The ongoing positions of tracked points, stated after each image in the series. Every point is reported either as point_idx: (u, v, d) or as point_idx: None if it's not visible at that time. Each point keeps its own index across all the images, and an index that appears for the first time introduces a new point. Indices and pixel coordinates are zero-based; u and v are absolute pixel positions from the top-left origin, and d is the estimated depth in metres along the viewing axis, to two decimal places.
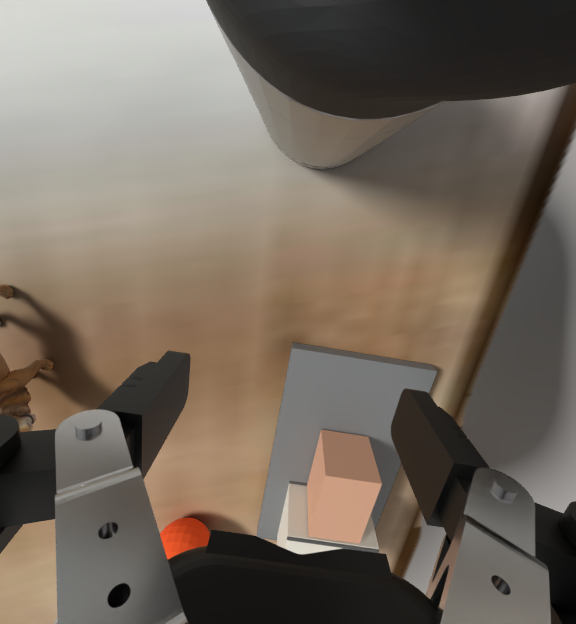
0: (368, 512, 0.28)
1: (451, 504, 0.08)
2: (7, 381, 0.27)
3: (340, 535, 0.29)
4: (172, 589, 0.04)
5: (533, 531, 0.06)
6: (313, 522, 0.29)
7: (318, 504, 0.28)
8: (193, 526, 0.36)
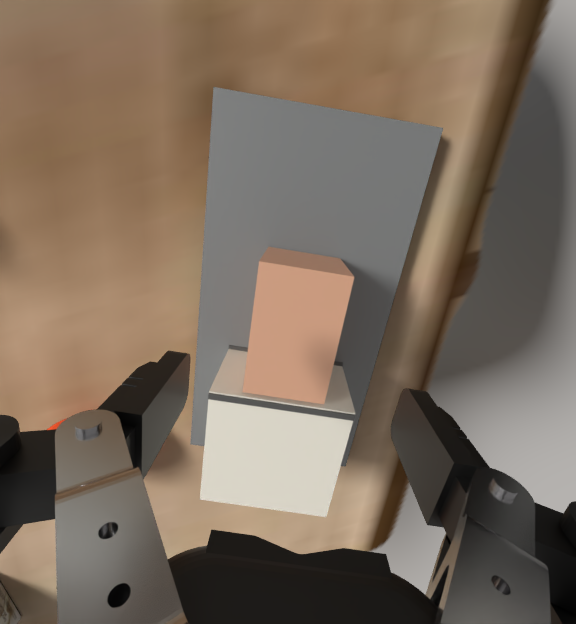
0: (335, 339, 0.17)
1: (451, 504, 0.08)
2: None
3: (292, 388, 0.18)
4: (172, 589, 0.04)
5: (533, 531, 0.06)
6: (248, 363, 0.18)
7: (252, 325, 0.17)
8: None
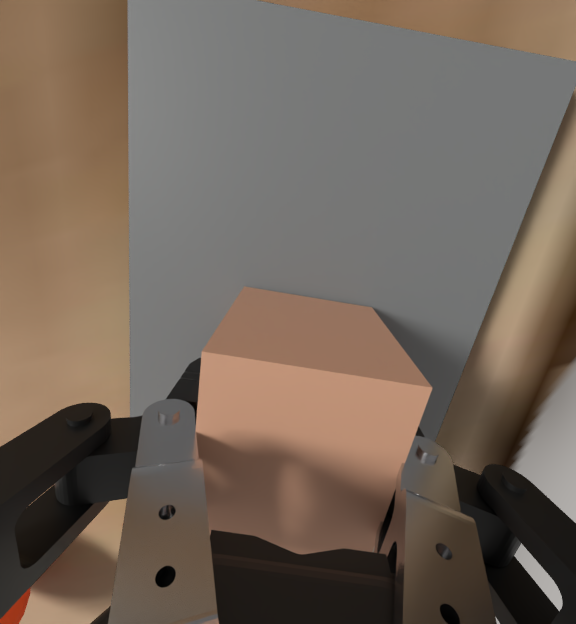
0: (377, 509, 0.08)
1: None
2: None
3: None
4: (211, 587, 0.04)
5: (443, 486, 0.07)
6: None
7: None
8: None
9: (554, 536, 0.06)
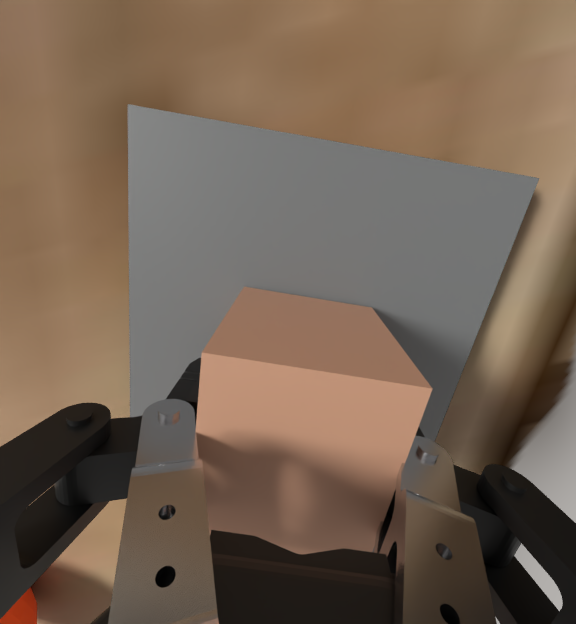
0: (377, 509, 0.08)
1: None
2: None
3: None
4: (211, 587, 0.04)
5: (443, 486, 0.07)
6: None
7: None
8: None
9: (554, 536, 0.06)
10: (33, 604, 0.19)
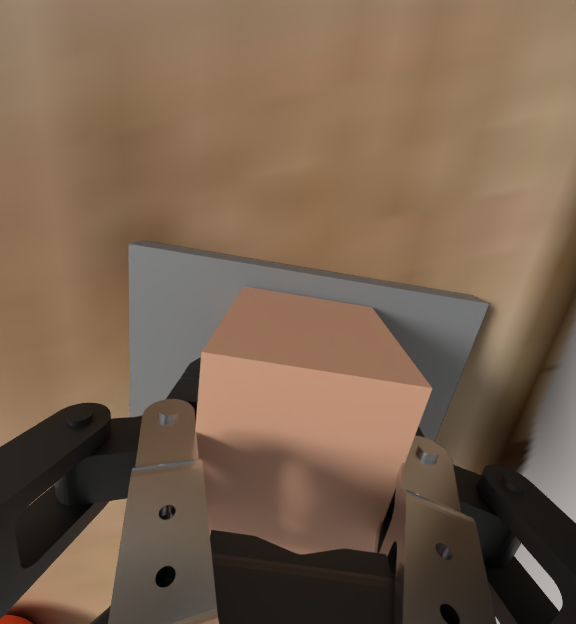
0: (377, 509, 0.08)
1: None
2: None
3: None
4: (211, 587, 0.04)
5: (443, 486, 0.07)
6: None
7: None
8: None
9: (554, 536, 0.06)
10: None
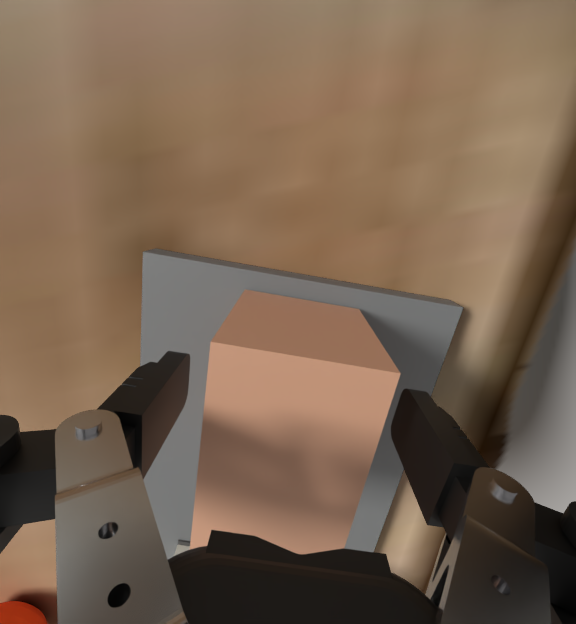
0: (357, 479, 0.09)
1: (451, 504, 0.08)
2: None
3: None
4: (172, 589, 0.04)
5: (533, 531, 0.06)
6: (197, 513, 0.10)
7: (202, 452, 0.09)
8: None
9: None
10: None
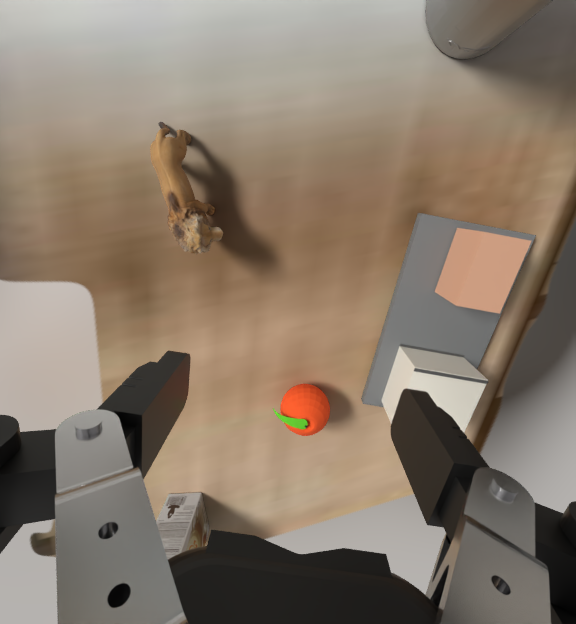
0: (514, 275, 0.32)
1: (451, 504, 0.08)
2: (197, 202, 0.33)
3: (484, 303, 0.34)
4: (172, 589, 0.04)
5: (533, 531, 0.06)
6: (463, 288, 0.33)
7: (471, 266, 0.32)
8: (315, 386, 0.43)
9: None
10: None
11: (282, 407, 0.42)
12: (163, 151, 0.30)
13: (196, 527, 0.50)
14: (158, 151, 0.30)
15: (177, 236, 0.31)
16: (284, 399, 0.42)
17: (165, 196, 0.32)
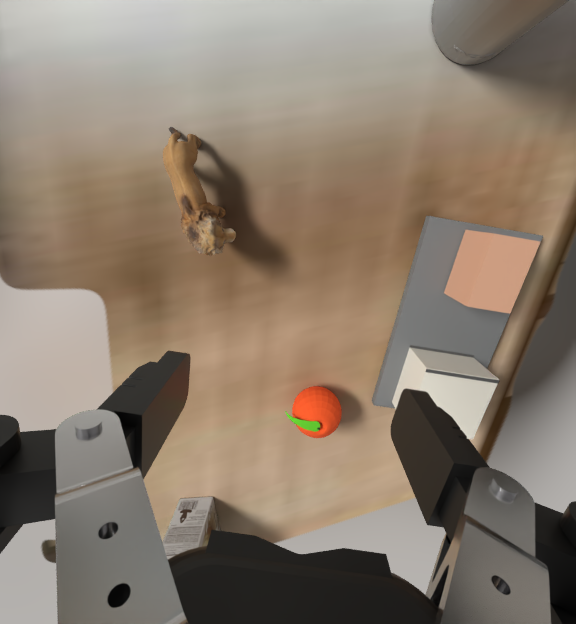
0: (523, 275, 0.33)
1: (451, 504, 0.08)
2: (209, 205, 0.34)
3: (494, 304, 0.34)
4: (172, 589, 0.04)
5: (533, 531, 0.06)
6: (474, 289, 0.34)
7: (481, 267, 0.33)
8: (326, 389, 0.43)
9: None
10: None
11: (294, 410, 0.42)
12: (176, 155, 0.30)
13: (208, 531, 0.50)
14: (170, 155, 0.30)
15: (191, 238, 0.31)
16: (296, 402, 0.43)
17: (178, 199, 0.32)
